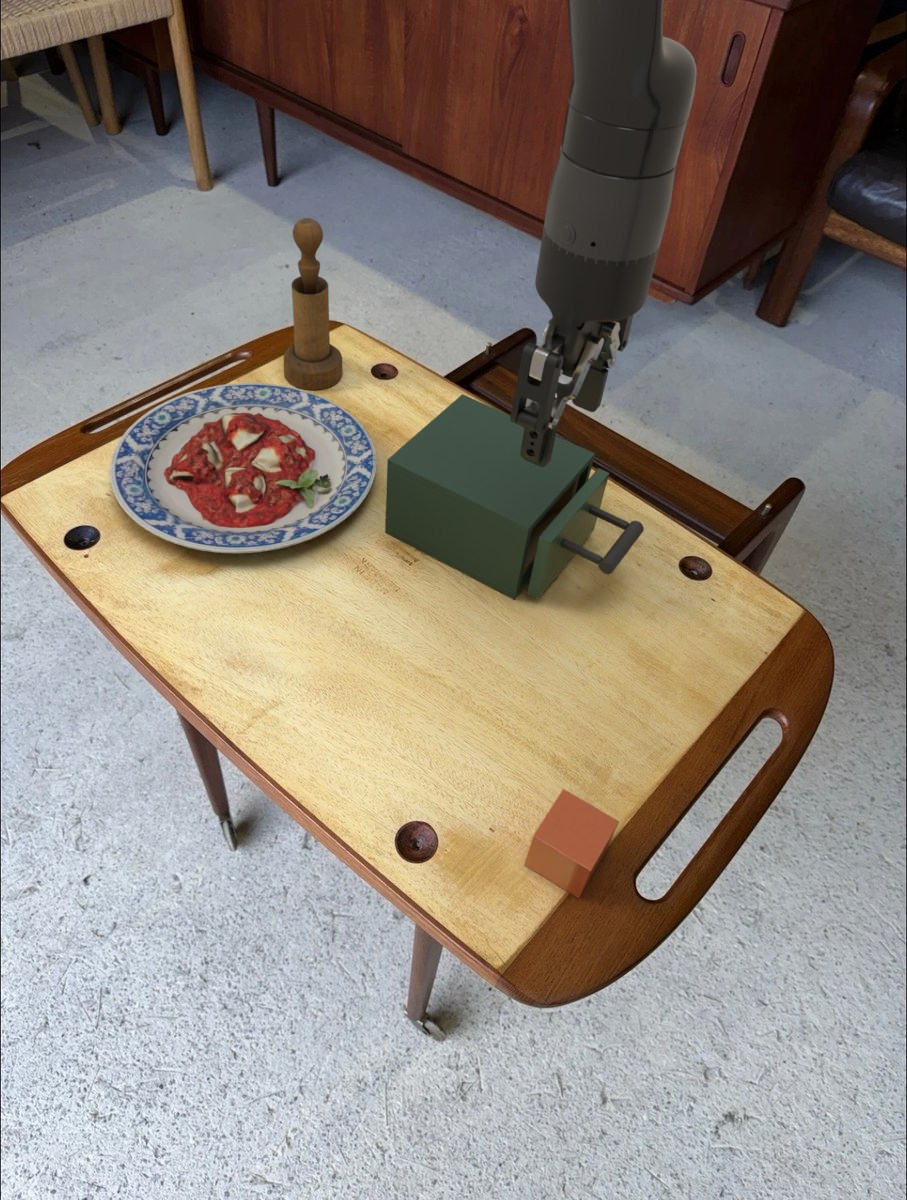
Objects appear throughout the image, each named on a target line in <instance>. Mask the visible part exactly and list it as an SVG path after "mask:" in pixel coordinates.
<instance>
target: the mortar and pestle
mask: <svg viewBox="0 0 907 1200" xmlns="http://www.w3.org/2000/svg"><path fill="white" fill-rule="evenodd" d="M292 238H293V242H294V243H295V245H296V247H297V248H298V249H299V251H300V255H301V257H300V259H299V260H298V262H297V268H298V272H299V275H300V276H298V277H296V278H294V279H293V280H292V282H291V284H290V285H291V301H292V317H293V338H294V339H293V340H294V344H292V345H291V346H289V347H288V348H287V349H286V350H285V352H284V354H283V374H284V377H285V379H286V381H287V382H288V383H289V384H291V385H292V386H293V387H294V388H297V389H300V390H306V391H308V390H309V391H318V390H319V389H320V390H325V389H328V387H329V388H331V387H333V386H335V385H336V384H338V383H339V381H340V380H341V379H342V376H343V356H342V353H341V351H340V350H339V348H337V347H336V346H334V345H332V344H331V343H330V342H331V339H330V300H329V299H330V298H329V297H330V296H329V283H328V281H327V280H326V279H325V278H323V277H322V276H319V274H320V270H321V261H319V260H318V259H317V258H316V257H317V256H316V255H317V251H318V250H319V248H320V246H321V245H322V242H323V239H324V231H323V228H322V226H321V224H320V223H319V222H318V221H317V220H316V219H313V218H311V217H303V218H301V219H299V220H298V221H296V223H295V224H294V225H293V229H292ZM337 382H338V383H337Z"/></svg>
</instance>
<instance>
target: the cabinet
mask: <svg viewBox="0 0 907 1200" xmlns="http://www.w3.org/2000/svg"><path fill="white" fill-rule="evenodd" d="M510 417H511V414H508V413H506V412H503V411H501V410H499V409H497V408H495V407H492V406H490V405H488V404H485V403H483V402H482V401H480V400H476V399H475V398H472V397H470V396H468V395H465V394H462V393H461V395H460V396H458V397H457V398H456V399H455V400H454V401H453V402H451V403H450V404H449V405H448V406H447V407H446V408H445V409H443V410H442V411H441V412H440V413H439V414H438V415H436V417H433V418H432V420H431V421H429V422H428V423H427V424H426V425H425V426H424V427H423V428H421V430H419V431H418V432H417V433H416V434H415V435H414V436H412V437H411V438H410V439H409V440H408V441H407V442H405V444H403V445H402V446H401V447H400V448H399V449H397V450H396V451H395V452H394V453H393V454H392V455H391V456H389V457H388V458H387V464H386V467H387V468H386V492H385V493H386V494H385V495H386V496H385V519H384V521H385V523H384V526H385V527H384V533H385V534H387V535H389V536H391V537H392V538H395V539H396V540H399V541H401V542H402V543H404V544H406V545H408V546H410V547H412V548H414V549H416V550H418V551H420V552H422V553H423V554H426V555H428V556H429V557H430V558H431V557H432V558H433V559H435V560H437V561H439V562H440V563H443V564H445V565H447V566H449V567H451V568H452V569H455V570H456V571H458V572H460V573H461V574H464V575H466V576H468V577H469V578H472V579H474V580H476V581H477V582H479V583H482V584H483V585H485V586H487V587H489V588H491V589H493V590H495V591H497V592H498V593H500V594H502V595H504V596H507V598H510V599H512V600H514V601H515V600H516V599H517V598H518V596H519V595H520V594H521V593H523V591H524V590H525V588H526V587H527V586H528V585H529V582H530V578H531V573H532V568H533V564H534V563H533V564H532V565H531V566H530V568H529V569H528V570H527V571H526V572H525V574H524V575H523V572H524V567H525V562H526V557H527V552H528V547H529V542H530V537H531V532H532V529H533V528H534V527H535V526H536V525H537V524H538V523H539V521H540V520H541V519H542V518H543V517H544V516H545V515H546V513H547V512H548V511H549V510H550V509H551V508H552V507H553V505H554V504H555V503H556V502H557V501H558V500H559V499H560V497H561V496H562V495H563V494H564V493H565V492H566V491H567V490H568V488H569V487H570V486H571V485H572V484H573V483H574V482H575V480H576V479H577V478H578V477H579V481H578V485H577V489H576V493H577V492H578V491H579V490H580V489H581V487H582V486H583V485H584V484H585V483H586V482H587V480H588V479H589V478H590V475H591V471H592V468H593V463H594V459H595V456H596V452H592V451H591V450H589V449H586V448H584V447H582V446H579V445H577V444H575V443H574V442H573V443H572V442H570V441H569V440H566V439H563V438H561V437H559V436H557V435H556V436H555V441H554V446H553V451H552V456H551V460H550V461H549V463H548V464H547V465H546V466H545V467H539V466H537V465H535V464H533V463H530V462H528V461H526V460H524V459H523V458H522V457H521V455H520V451H521V445H522V439H523V434H524V428H525V427H522V426H520V425H518V424H516V423H513V422H511V421H510ZM576 493H575V494H576Z"/></svg>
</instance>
